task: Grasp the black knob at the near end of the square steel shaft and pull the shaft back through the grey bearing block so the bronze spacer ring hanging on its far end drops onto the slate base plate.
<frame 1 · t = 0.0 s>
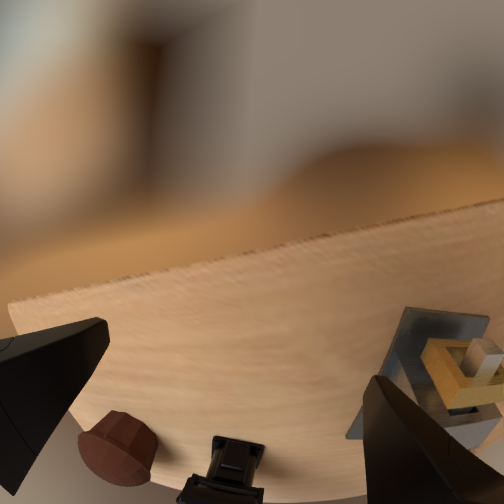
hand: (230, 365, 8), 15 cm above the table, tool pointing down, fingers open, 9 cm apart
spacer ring: (467, 370, 16), point 6 cm above the table, touching shaft
bearing block: (424, 370, 23), on the table
shaft: (443, 443, 15), point 9 cm above the table, slide at 0.0 cm, touching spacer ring
muffin: (132, 429, 33), on the table
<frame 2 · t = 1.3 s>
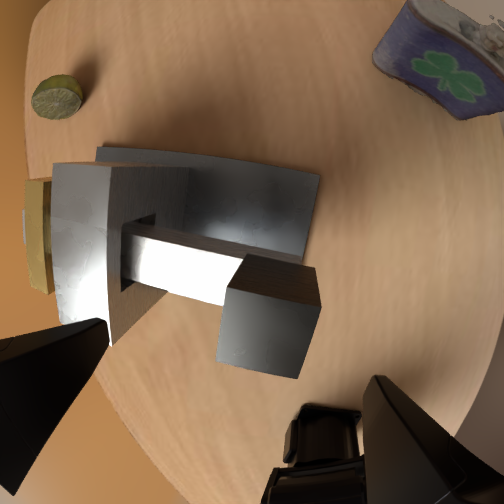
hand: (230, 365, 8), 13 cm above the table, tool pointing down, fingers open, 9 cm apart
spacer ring: (69, 226, 16), point 6 cm above the table, touching shaft
bearing block: (162, 221, 21), on the table
shaft: (115, 259, 13), point 9 cm above the table, slide at 0.0 cm, touching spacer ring
flask: (423, 83, 15), on the table
lime: (74, 101, 20), on the table
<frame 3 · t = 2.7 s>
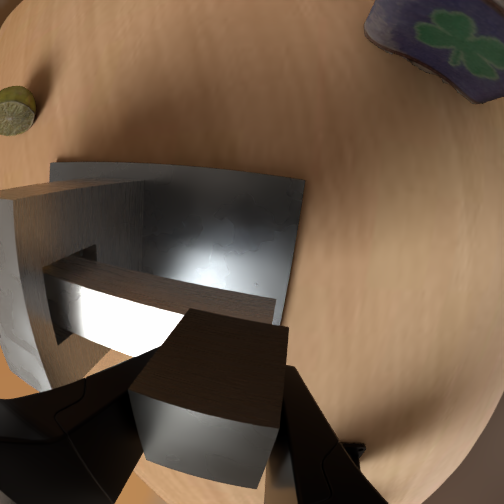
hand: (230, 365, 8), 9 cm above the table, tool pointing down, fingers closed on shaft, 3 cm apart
bearing block: (121, 245, 17), on the table
shaft: (43, 309, 9), point 9 cm above the table, slide at 0.0 cm, touching gripper, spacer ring
flask: (430, 60, 11), on the table
lime: (30, 114, 16), on the table
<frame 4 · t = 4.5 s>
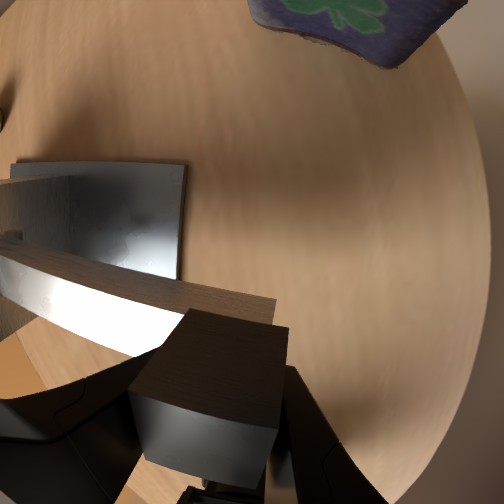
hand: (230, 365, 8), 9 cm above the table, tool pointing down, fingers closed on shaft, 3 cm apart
bearing block: (58, 232, 18), on the table
shaft: (43, 308, 9), point 9 cm above the table, slide at 6.6 cm, touching gripper
flask: (329, 31, 12), on the table
lime: (0, 122, 17), on the table
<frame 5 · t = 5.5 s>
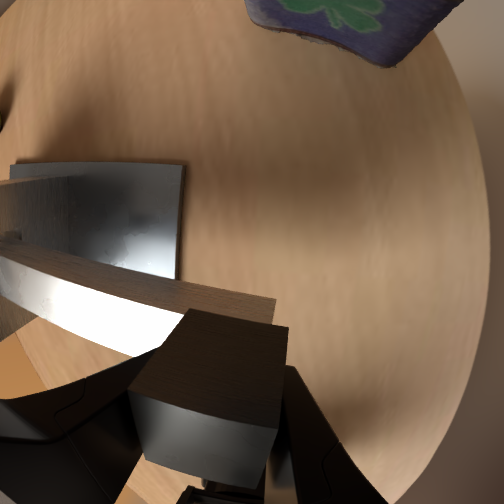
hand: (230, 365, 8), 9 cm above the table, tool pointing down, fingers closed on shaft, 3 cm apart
bearing block: (57, 232, 18), on the table
shaft: (43, 308, 9), point 9 cm above the table, slide at 6.7 cm, touching gripper
flask: (326, 30, 12), on the table
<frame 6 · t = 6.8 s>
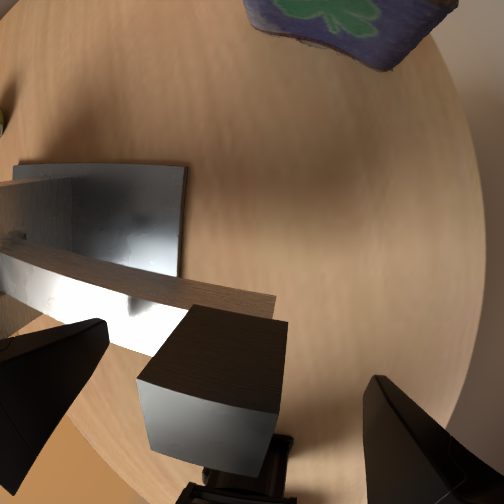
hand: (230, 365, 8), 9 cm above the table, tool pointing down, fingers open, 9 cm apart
bearing block: (60, 232, 19), on the table
shaft: (50, 306, 9), point 9 cm above the table, slide at 6.7 cm
flask: (325, 35, 13), on the table
lime: (2, 124, 17), on the table
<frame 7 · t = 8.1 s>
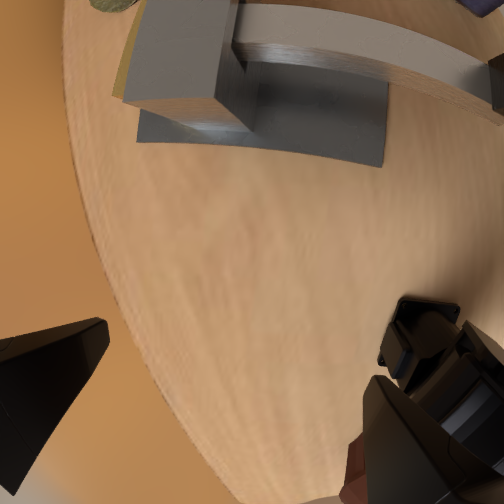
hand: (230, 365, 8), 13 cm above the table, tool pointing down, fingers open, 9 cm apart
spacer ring: (166, 58, 14), point 4 cm above the table, touching bearing block
bearing block: (234, 74, 17), on the table
shaft: (387, 34, 8), point 9 cm above the table, slide at 6.7 cm
muffin: (382, 442, 25), on the table
lime: (127, 0, 16), on the table
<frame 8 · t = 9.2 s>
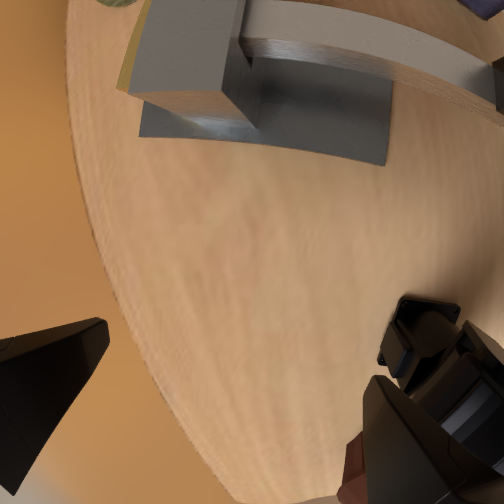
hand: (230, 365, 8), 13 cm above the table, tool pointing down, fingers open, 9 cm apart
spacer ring: (171, 52, 14), point 4 cm above the table, touching bearing block
bearing block: (238, 71, 17), on the table
shaft: (394, 33, 8), point 9 cm above the table, slide at 6.7 cm
muffin: (380, 442, 25), on the table
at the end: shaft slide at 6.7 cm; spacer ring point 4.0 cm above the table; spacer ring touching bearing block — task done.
